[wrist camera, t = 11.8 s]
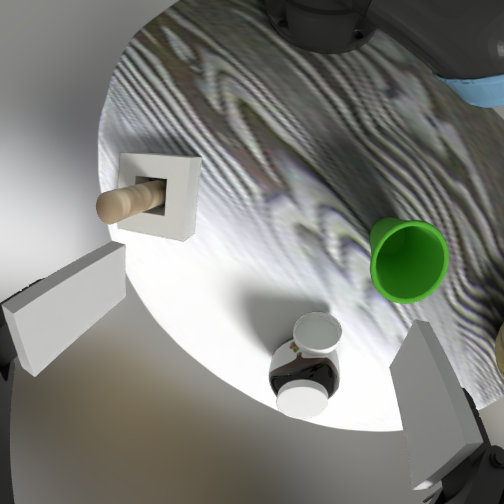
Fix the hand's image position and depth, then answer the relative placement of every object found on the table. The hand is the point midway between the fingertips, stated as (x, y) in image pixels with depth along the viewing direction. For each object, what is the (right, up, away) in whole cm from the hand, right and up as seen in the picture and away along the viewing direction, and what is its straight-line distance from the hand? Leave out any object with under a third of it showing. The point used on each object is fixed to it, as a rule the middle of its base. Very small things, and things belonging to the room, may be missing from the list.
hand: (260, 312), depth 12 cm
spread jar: (+9, -12, +32) cm, 35 cm away
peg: (-13, +11, +29) cm, 34 cm away
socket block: (-13, +11, +29) cm, 34 cm away
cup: (+18, +5, +25) cm, 31 cm away
